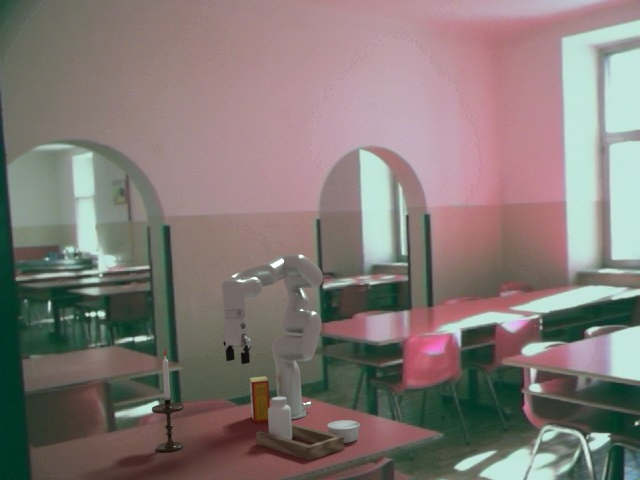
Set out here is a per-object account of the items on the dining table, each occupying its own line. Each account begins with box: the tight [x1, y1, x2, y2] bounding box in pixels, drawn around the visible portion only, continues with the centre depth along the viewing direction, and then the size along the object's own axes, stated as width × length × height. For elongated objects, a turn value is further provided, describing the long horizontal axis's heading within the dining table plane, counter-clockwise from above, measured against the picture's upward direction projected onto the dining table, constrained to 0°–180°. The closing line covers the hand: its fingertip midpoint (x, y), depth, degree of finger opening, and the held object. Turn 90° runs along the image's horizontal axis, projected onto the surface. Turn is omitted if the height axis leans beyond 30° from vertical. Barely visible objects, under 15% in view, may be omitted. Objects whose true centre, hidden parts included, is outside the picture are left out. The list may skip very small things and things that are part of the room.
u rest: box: [255, 423, 345, 461], centre depth 239 cm, size 15×28×4 cm, turn 42°
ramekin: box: [326, 419, 361, 444], centre depth 245 cm, size 11×11×5 cm
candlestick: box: [151, 347, 185, 453], centre depth 246 cm, size 11×11×35 cm
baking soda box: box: [248, 376, 271, 424], centre depth 278 cm, size 10×6×16 cm
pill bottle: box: [267, 396, 293, 440], centre depth 247 cm, size 8×8×15 cm
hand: (238, 361), depth 254 cm, fingers open, 9 cm apart
